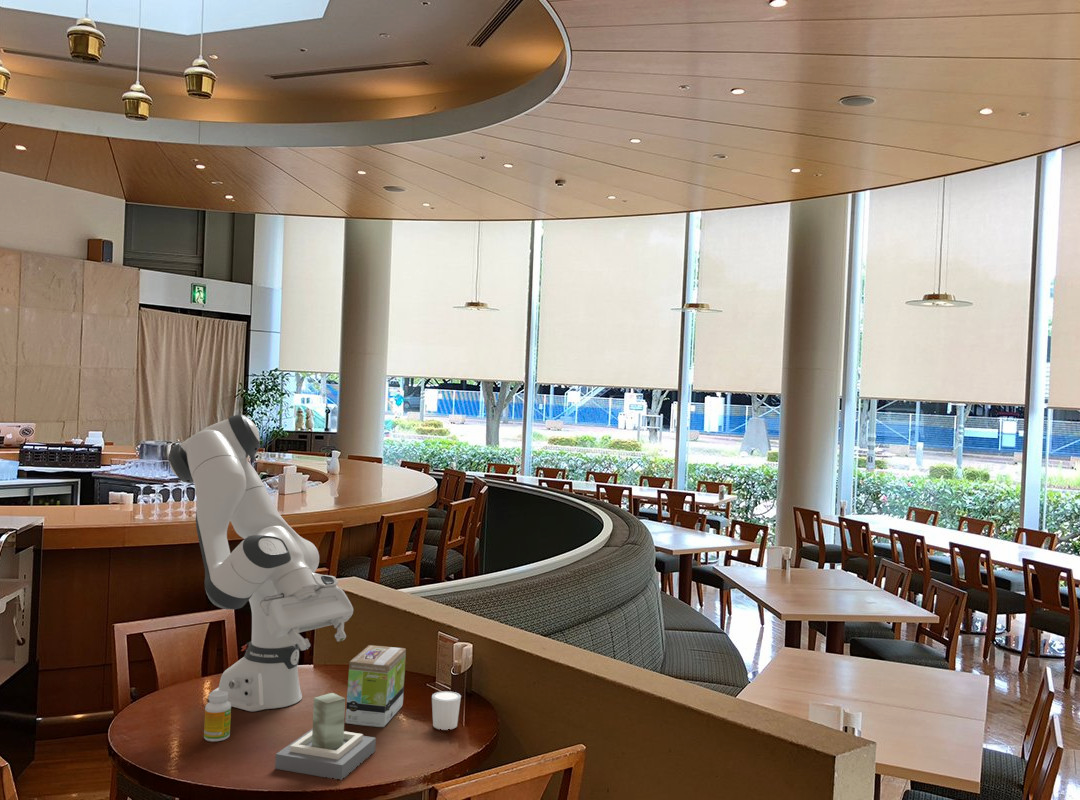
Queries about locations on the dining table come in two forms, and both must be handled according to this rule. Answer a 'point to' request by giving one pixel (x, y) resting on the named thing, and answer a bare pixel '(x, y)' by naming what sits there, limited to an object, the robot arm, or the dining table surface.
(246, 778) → the dining table surface
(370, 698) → the tea box
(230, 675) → the robot arm
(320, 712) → the green block
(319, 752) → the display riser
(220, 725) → the supplement bottle
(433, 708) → the white cup
